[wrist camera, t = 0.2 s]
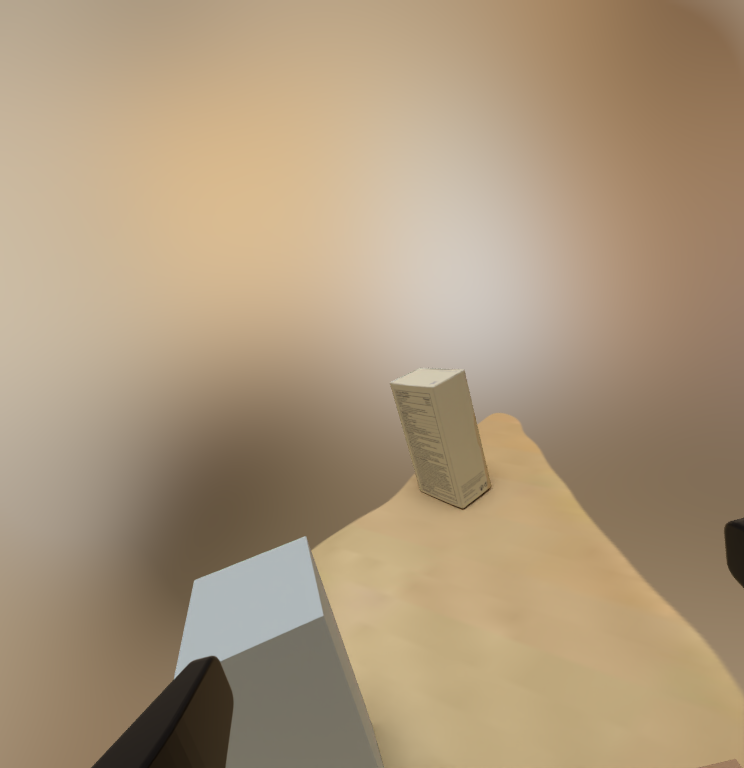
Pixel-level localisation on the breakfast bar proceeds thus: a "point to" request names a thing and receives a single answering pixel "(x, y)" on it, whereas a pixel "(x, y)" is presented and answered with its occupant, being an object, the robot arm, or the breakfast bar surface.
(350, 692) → the pillar
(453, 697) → the breakfast bar surface
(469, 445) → the skincare box
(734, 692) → the breakfast bar surface
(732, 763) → the walnut block
